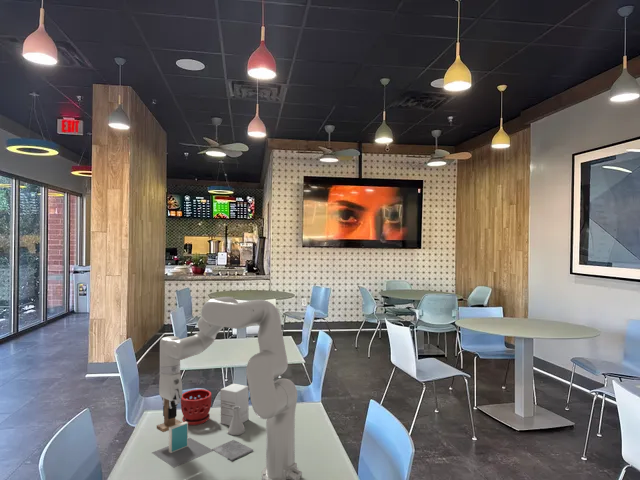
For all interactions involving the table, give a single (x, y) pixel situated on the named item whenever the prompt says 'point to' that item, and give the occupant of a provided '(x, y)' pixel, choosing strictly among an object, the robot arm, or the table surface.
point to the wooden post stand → (167, 422)
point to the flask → (236, 423)
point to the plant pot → (196, 406)
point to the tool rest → (232, 450)
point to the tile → (178, 437)
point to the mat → (182, 453)
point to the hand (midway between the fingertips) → (169, 416)
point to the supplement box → (234, 402)
